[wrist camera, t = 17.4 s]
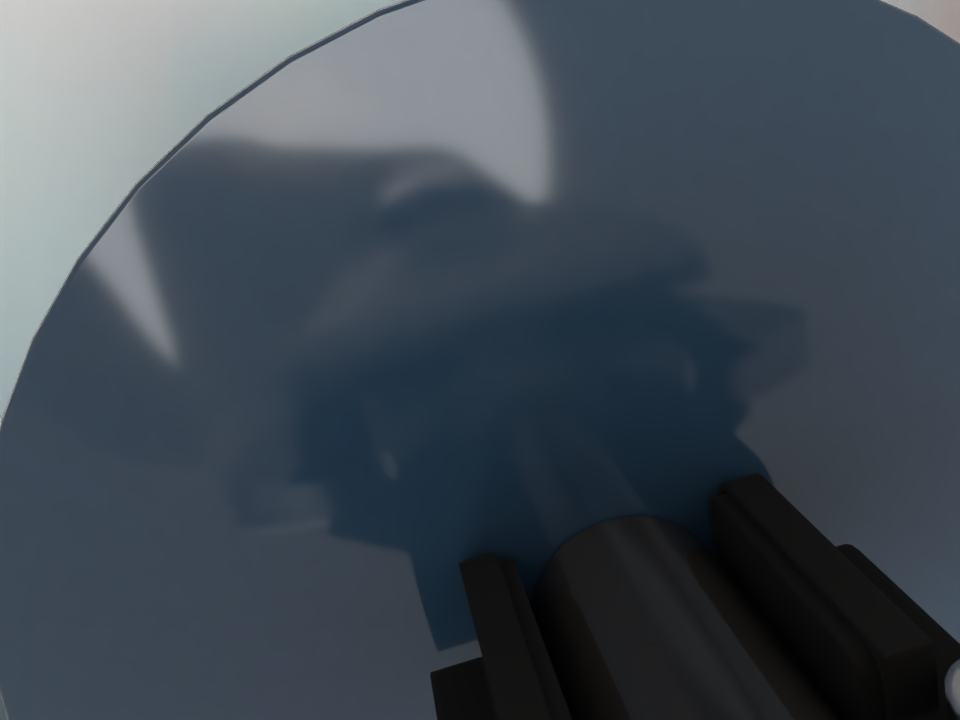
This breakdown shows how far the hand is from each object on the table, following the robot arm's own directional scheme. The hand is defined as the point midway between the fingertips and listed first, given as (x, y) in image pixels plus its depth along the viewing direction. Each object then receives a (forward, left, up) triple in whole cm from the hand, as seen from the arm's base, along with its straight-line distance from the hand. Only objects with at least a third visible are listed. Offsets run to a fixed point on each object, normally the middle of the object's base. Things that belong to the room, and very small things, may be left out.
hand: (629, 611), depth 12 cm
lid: (0, 0, -1) cm, 1 cm away
